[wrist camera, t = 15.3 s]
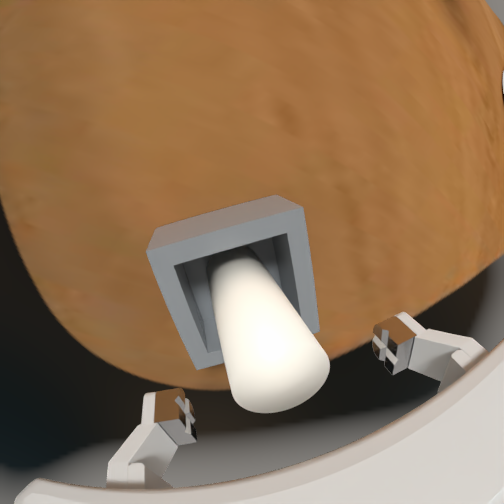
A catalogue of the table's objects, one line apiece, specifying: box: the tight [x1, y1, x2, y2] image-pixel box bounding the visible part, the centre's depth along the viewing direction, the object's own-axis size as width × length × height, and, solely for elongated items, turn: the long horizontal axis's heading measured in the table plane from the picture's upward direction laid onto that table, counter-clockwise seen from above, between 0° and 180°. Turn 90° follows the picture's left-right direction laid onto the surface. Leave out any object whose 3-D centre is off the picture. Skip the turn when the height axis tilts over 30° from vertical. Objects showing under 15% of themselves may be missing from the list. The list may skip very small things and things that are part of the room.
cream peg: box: [207, 246, 330, 413], centre depth 15 cm, size 4×4×11 cm
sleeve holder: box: [146, 195, 320, 370], centre depth 19 cm, size 9×9×5 cm
